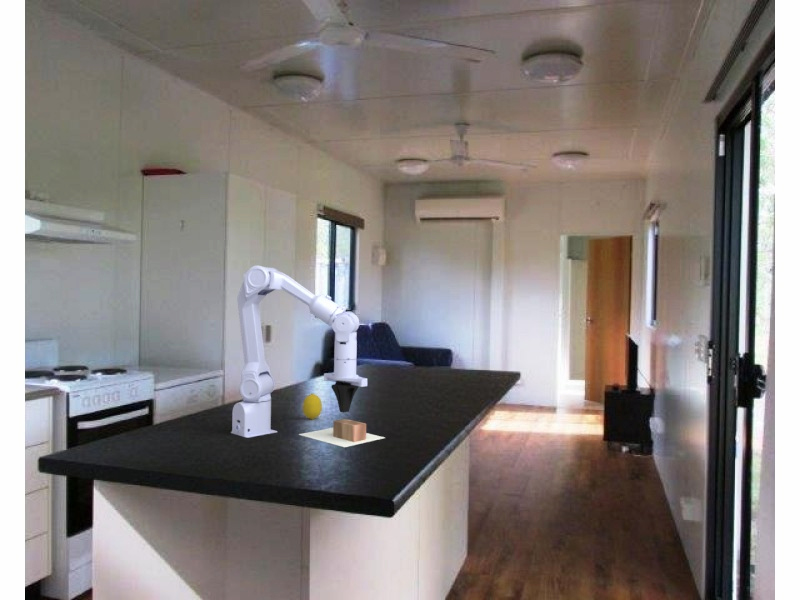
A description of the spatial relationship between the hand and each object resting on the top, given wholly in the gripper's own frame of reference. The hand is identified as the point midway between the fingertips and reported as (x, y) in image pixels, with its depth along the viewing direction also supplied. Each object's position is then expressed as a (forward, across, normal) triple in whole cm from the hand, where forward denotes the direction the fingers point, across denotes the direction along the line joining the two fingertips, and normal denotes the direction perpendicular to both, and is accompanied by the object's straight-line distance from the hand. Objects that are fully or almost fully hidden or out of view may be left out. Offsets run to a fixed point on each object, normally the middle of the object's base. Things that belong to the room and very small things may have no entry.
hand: (344, 411), depth 148 cm
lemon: (+7, +23, -8) cm, 25 cm away
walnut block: (+4, +2, 0) cm, 5 cm away
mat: (+7, +1, 0) cm, 7 cm away
